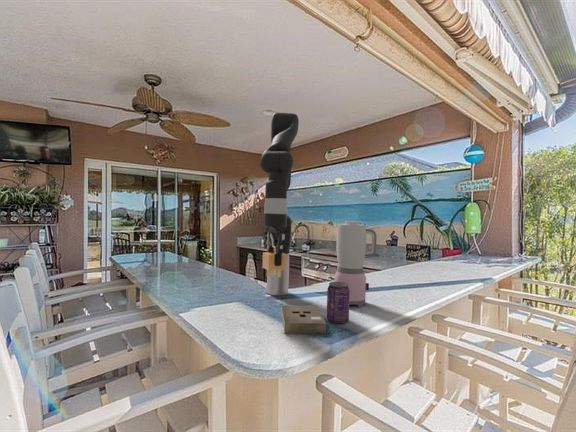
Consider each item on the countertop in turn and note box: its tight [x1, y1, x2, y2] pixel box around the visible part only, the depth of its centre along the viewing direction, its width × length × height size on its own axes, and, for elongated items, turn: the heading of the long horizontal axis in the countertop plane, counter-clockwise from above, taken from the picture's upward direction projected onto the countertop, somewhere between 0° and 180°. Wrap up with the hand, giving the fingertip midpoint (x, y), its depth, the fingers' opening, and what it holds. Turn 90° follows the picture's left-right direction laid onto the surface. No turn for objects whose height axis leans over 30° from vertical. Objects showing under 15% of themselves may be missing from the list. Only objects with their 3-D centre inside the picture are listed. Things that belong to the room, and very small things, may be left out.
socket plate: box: [280, 305, 327, 335], centre depth 94 cm, size 16×12×4 cm
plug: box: [261, 251, 286, 278], centre depth 98 cm, size 6×6×8 cm
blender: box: [333, 220, 377, 308], centre depth 117 cm, size 16×12×32 cm
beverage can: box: [326, 281, 350, 324], centre depth 97 cm, size 7×7×12 cm
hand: (274, 263), depth 98 cm, fingers closed on plug, 5 cm apart
